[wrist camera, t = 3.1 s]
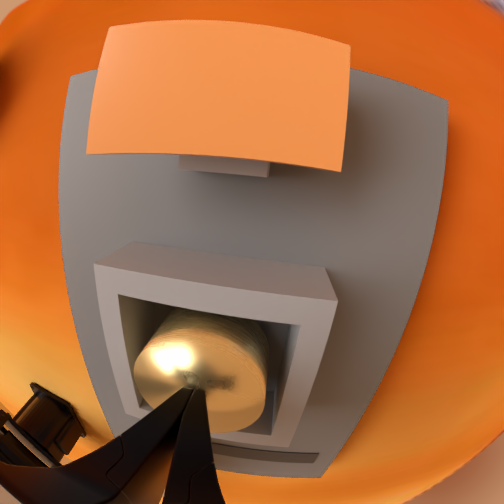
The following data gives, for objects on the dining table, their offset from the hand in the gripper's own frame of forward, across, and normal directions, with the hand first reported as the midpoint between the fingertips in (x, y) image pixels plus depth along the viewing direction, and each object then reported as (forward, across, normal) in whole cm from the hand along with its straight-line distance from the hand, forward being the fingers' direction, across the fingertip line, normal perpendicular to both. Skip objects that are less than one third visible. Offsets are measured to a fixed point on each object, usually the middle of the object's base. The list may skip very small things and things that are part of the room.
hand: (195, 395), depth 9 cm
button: (+3, 0, 0) cm, 3 cm away
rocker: (+1, 0, -10) cm, 10 cm away
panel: (+6, 0, +1) cm, 6 cm away
